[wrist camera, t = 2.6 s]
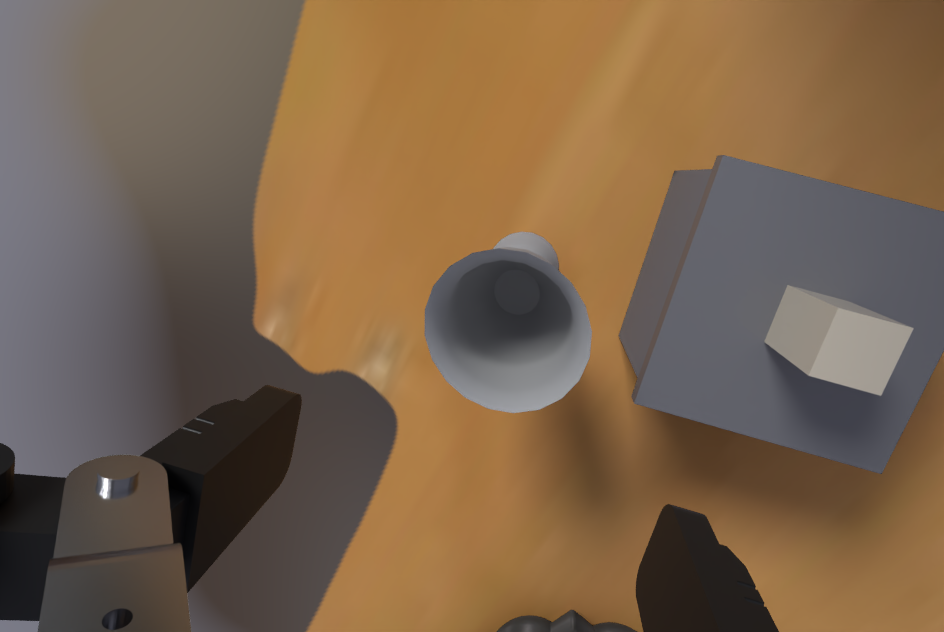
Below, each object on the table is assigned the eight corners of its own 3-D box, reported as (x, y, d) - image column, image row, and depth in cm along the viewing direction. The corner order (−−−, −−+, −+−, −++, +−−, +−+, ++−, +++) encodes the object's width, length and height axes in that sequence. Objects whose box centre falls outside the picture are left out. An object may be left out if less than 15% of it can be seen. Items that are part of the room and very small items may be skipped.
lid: (710, 156, 29) (762, 150, 22) (970, 223, 28) (1110, 239, 21) (628, 388, 32) (650, 446, 25) (858, 453, 31) (947, 532, 24)
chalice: (592, 276, 41) (627, 351, 23) (518, 333, 42) (500, 442, 25) (527, 196, 40) (513, 212, 23) (455, 258, 42) (390, 316, 24)
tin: (674, 170, 38) (723, 168, 28) (853, 217, 38) (973, 233, 27) (618, 335, 41) (643, 390, 31) (782, 381, 41) (865, 453, 30)
